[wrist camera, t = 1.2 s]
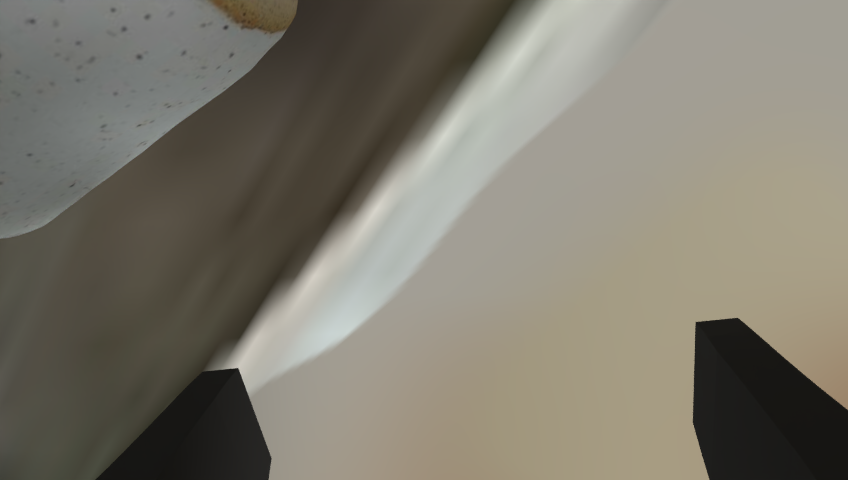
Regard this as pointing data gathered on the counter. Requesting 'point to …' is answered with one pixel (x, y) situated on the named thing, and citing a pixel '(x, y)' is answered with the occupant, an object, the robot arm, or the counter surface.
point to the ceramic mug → (110, 86)
